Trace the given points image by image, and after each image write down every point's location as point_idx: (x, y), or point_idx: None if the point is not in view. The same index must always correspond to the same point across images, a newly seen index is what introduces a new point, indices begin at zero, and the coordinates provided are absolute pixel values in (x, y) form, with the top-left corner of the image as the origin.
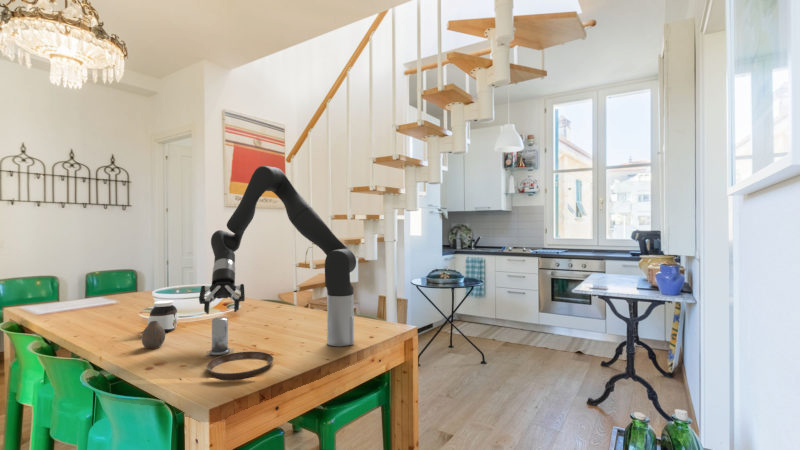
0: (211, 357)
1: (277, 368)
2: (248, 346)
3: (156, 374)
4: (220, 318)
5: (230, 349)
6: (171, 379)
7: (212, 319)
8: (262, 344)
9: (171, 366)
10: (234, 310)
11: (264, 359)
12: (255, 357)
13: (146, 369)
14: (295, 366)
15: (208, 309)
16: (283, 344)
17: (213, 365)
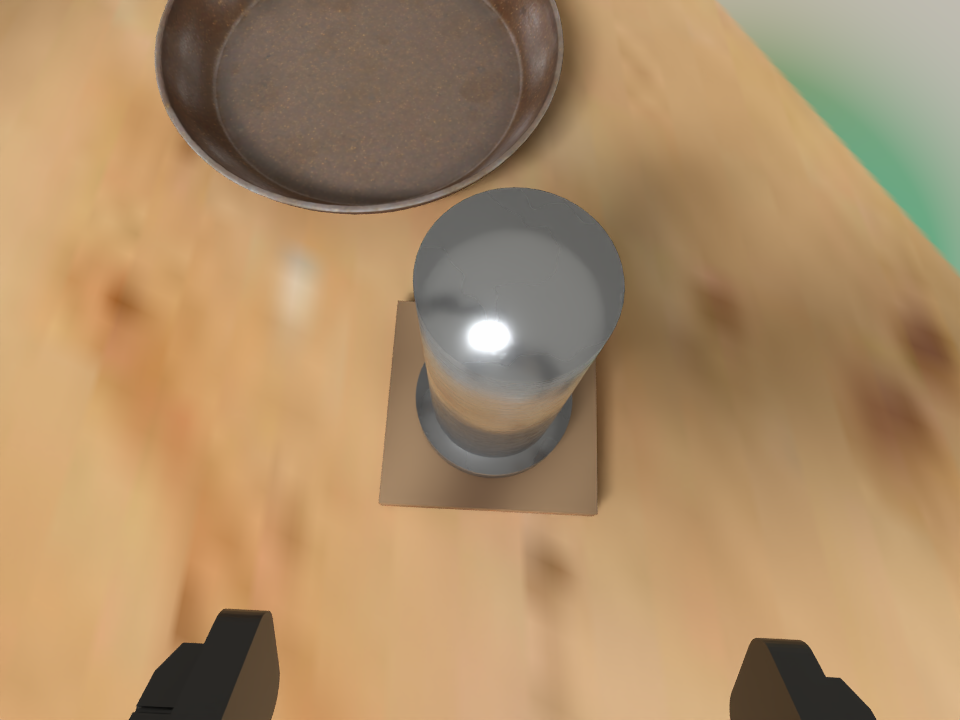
0: None
1: None
2: None
3: (838, 212)
4: (512, 291)
5: (408, 479)
6: (729, 102)
7: (616, 271)
8: (112, 630)
9: (793, 325)
10: (271, 637)
11: (208, 128)
12: (255, 181)
13: (938, 331)
14: (67, 20)
15: (768, 647)
16: None
17: (524, 123)
